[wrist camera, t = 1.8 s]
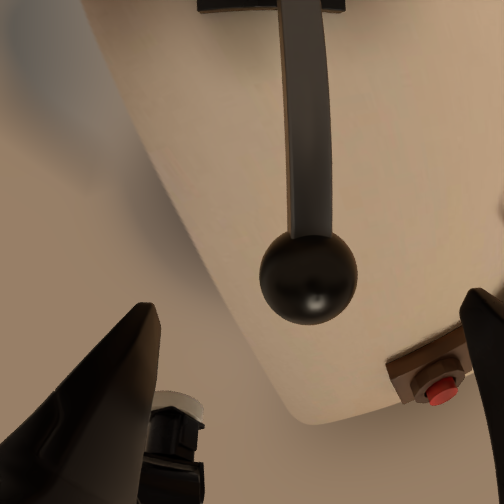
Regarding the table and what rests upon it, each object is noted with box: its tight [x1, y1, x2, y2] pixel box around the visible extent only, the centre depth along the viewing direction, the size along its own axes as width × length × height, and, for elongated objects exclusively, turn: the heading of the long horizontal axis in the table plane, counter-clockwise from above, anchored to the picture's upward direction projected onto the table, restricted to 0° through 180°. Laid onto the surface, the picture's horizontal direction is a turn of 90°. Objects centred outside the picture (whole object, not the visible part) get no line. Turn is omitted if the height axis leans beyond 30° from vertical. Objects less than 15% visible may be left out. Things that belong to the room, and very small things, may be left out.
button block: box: [386, 326, 472, 404], centre depth 31 cm, size 10×8×4 cm
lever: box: [259, 0, 358, 325], centre depth 7 cm, size 17×3×3 cm, turn 2°
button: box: [426, 377, 458, 406], centre depth 29 cm, size 4×4×2 cm
